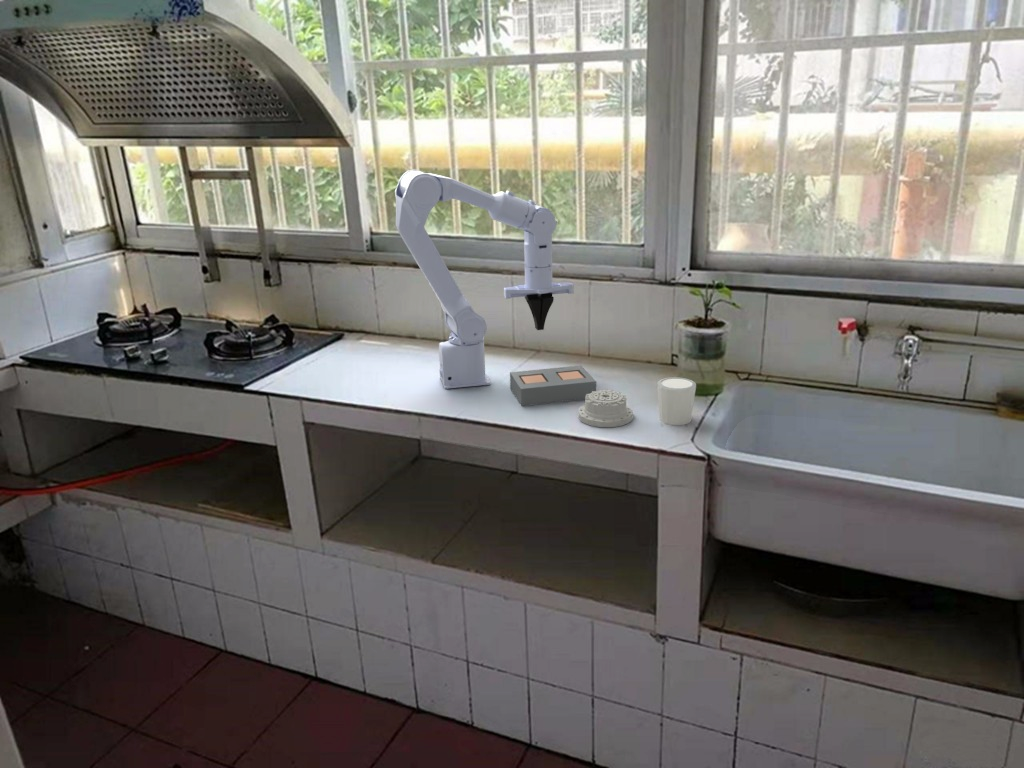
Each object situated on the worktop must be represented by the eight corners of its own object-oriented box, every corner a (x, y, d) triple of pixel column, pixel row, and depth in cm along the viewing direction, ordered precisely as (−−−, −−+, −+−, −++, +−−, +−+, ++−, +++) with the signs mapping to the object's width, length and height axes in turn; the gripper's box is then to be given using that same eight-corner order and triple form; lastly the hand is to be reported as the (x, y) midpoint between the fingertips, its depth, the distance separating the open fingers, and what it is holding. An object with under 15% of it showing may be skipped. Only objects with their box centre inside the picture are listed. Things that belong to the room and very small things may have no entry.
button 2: (563, 395, 157) (563, 379, 156) (557, 388, 161) (557, 373, 160) (583, 392, 158) (583, 377, 157) (577, 385, 162) (577, 371, 161)
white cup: (699, 425, 142) (701, 388, 139) (661, 427, 141) (662, 390, 139) (688, 411, 148) (690, 375, 146) (651, 413, 148) (653, 377, 145)
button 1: (525, 399, 156) (525, 383, 154) (521, 391, 159) (520, 376, 158) (546, 396, 156) (546, 381, 155) (541, 389, 160) (541, 374, 159)
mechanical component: (575, 427, 143) (631, 430, 141) (575, 404, 141) (632, 407, 140) (580, 407, 152) (633, 409, 150) (581, 385, 150) (634, 387, 149)
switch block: (521, 406, 153) (520, 388, 151) (510, 388, 162) (509, 372, 161) (596, 398, 156) (596, 381, 154) (581, 381, 165) (581, 365, 164)
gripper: (507, 271, 159) (509, 336, 163) (577, 266, 162) (577, 330, 166) (500, 264, 165) (503, 327, 170) (568, 259, 168) (568, 322, 173)
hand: (539, 328), depth 169 cm, fingers closed
